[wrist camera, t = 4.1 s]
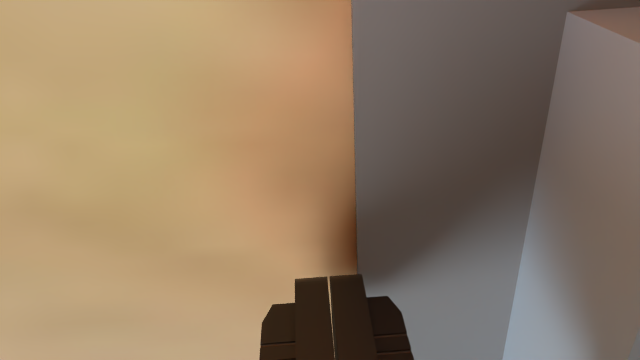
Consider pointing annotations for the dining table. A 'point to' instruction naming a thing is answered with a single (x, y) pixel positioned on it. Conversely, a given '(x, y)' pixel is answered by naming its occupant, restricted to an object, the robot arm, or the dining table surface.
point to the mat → (451, 157)
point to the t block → (585, 202)
